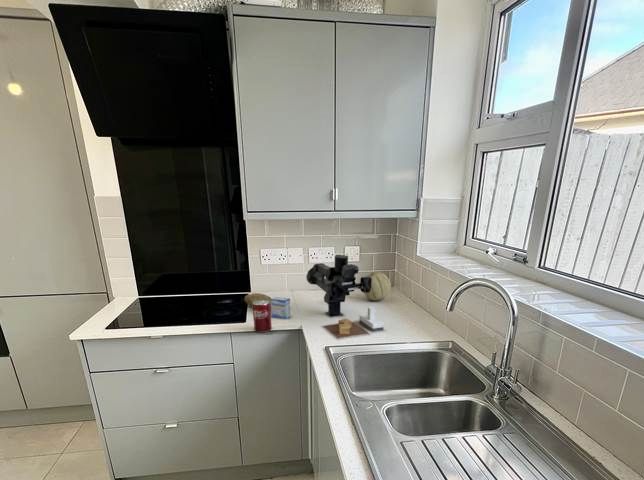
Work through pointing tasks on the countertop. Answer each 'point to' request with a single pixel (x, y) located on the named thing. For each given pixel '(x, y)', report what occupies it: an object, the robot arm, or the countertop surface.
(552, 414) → the countertop surface
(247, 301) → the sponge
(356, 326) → the spill patch
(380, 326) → the brush
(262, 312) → the soda can
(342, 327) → the crumb
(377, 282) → the cantaloupe
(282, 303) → the medicine box
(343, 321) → the crumb
